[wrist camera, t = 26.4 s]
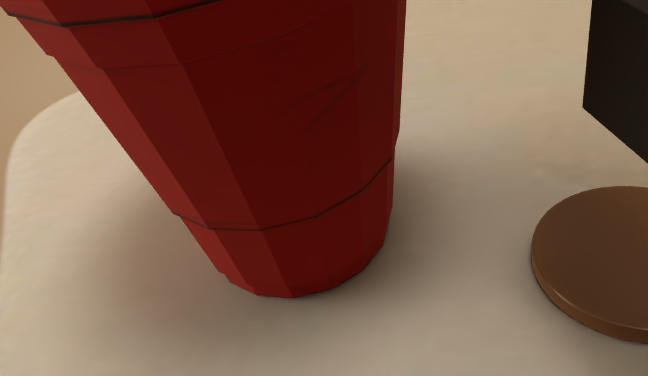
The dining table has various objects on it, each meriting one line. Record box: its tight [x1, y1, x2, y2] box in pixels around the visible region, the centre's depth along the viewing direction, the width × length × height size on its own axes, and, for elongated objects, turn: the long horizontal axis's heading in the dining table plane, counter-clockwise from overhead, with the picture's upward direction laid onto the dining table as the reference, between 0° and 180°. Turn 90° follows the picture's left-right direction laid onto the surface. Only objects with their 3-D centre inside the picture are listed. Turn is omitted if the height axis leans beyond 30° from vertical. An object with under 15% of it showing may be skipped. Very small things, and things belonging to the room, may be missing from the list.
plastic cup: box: [0, 0, 406, 298], centre depth 16 cm, size 11×11×12 cm
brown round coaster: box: [532, 186, 648, 343], centre depth 16 cm, size 5×5×1 cm
